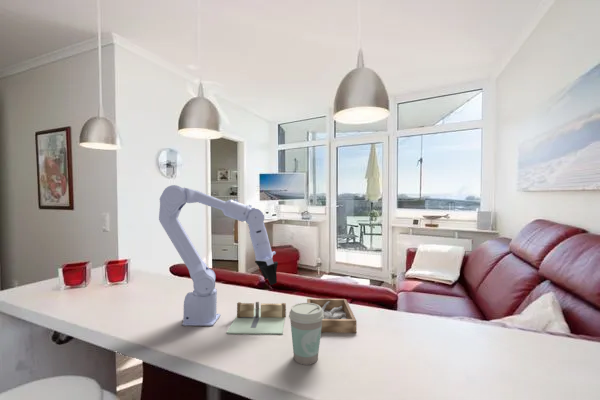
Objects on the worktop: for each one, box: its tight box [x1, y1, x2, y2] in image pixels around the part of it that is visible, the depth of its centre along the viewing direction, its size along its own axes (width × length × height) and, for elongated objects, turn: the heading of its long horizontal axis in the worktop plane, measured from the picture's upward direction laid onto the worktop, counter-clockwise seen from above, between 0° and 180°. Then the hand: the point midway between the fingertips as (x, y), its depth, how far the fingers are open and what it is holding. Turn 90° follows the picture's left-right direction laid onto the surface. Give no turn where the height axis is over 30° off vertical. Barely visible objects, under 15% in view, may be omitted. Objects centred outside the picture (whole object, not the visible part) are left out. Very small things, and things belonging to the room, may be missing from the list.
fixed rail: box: [236, 301, 260, 318], centre depth 87 cm, size 7×1×5 cm, turn 90°
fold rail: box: [260, 302, 287, 318], centre depth 87 cm, size 8×1×4 cm, turn 90°
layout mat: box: [226, 307, 286, 335], centre depth 86 cm, size 16×18×1 cm
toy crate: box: [306, 298, 357, 334], centre depth 87 cm, size 14×18×4 cm
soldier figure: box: [322, 301, 346, 319], centre depth 86 cm, size 8×5×12 cm
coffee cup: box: [288, 302, 324, 366], centre depth 65 cm, size 8×8×12 cm
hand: (270, 280), depth 91 cm, fingers open, 7 cm apart
